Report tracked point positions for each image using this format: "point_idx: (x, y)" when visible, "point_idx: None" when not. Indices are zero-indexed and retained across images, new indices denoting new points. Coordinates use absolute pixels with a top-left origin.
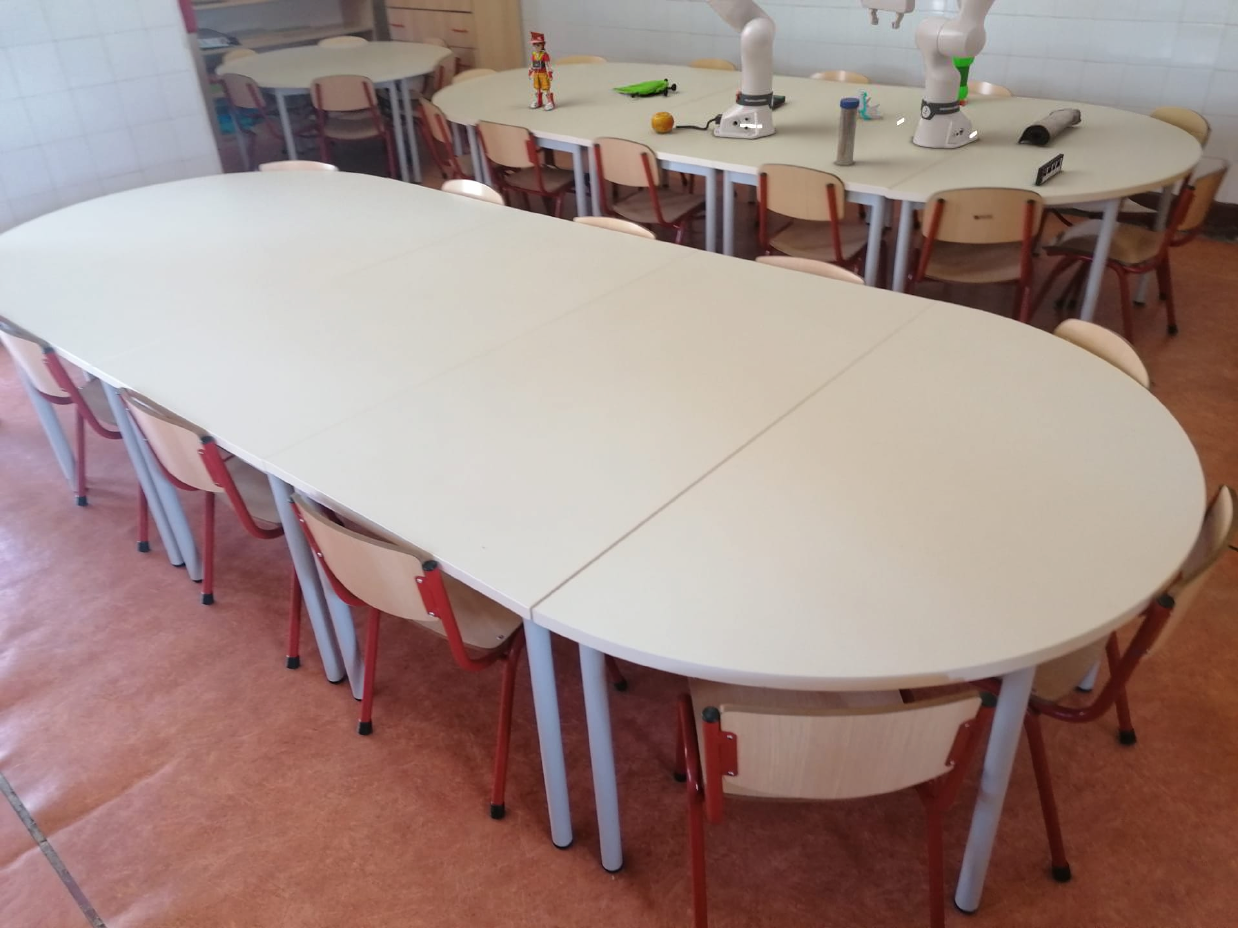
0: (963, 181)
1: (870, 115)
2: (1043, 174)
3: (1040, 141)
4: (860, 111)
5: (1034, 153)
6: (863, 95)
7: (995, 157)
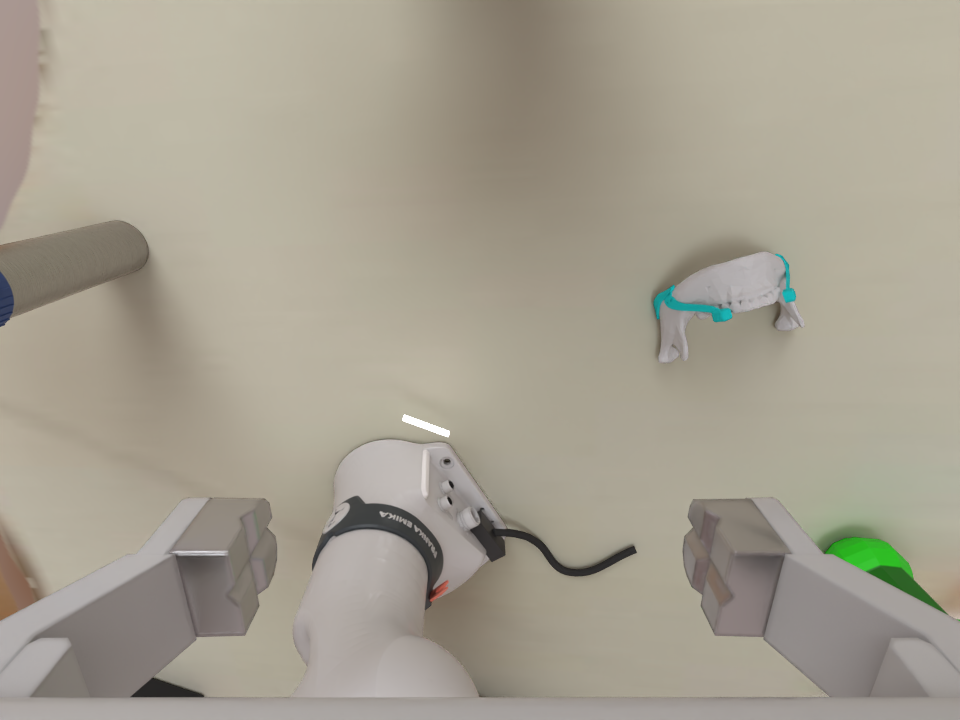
0: (62, 535)
1: (662, 321)
2: None
3: None
4: (669, 288)
5: None
6: (718, 308)
7: (280, 605)
